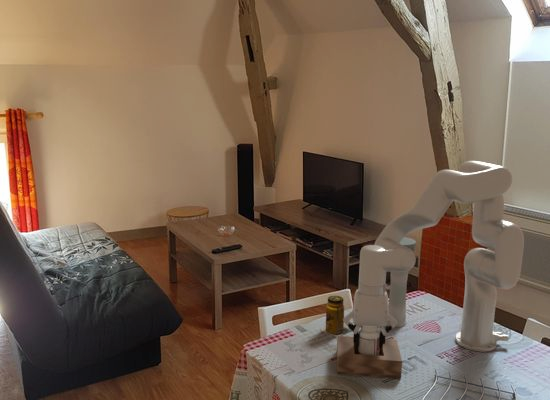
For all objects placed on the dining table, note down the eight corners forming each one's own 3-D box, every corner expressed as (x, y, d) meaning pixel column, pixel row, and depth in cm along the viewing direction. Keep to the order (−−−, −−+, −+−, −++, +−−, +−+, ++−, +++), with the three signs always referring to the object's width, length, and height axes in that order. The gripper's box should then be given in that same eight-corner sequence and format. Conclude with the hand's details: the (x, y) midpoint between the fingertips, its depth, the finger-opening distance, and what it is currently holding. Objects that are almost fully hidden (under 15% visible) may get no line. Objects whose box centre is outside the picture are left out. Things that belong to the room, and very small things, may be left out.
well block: (395, 355, 159) (396, 339, 158) (400, 378, 147) (402, 361, 145) (336, 352, 161) (337, 335, 160) (337, 374, 149) (337, 356, 147)
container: (378, 323, 181) (382, 241, 175) (388, 314, 189) (393, 235, 182) (404, 331, 176) (409, 246, 170) (413, 321, 183) (419, 239, 177)
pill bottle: (371, 350, 157) (371, 316, 155) (383, 360, 152) (384, 324, 150) (354, 355, 155) (354, 320, 152) (366, 365, 149) (367, 328, 147)
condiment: (320, 330, 176) (321, 297, 173) (336, 323, 181) (337, 291, 179) (336, 338, 170) (338, 304, 168) (352, 330, 176) (354, 297, 173)
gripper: (400, 284, 152) (397, 340, 155) (341, 282, 153) (339, 337, 157) (404, 294, 144) (400, 353, 148) (341, 291, 146) (339, 349, 150)
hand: (368, 344), depth 153 cm, fingers open, 6 cm apart
